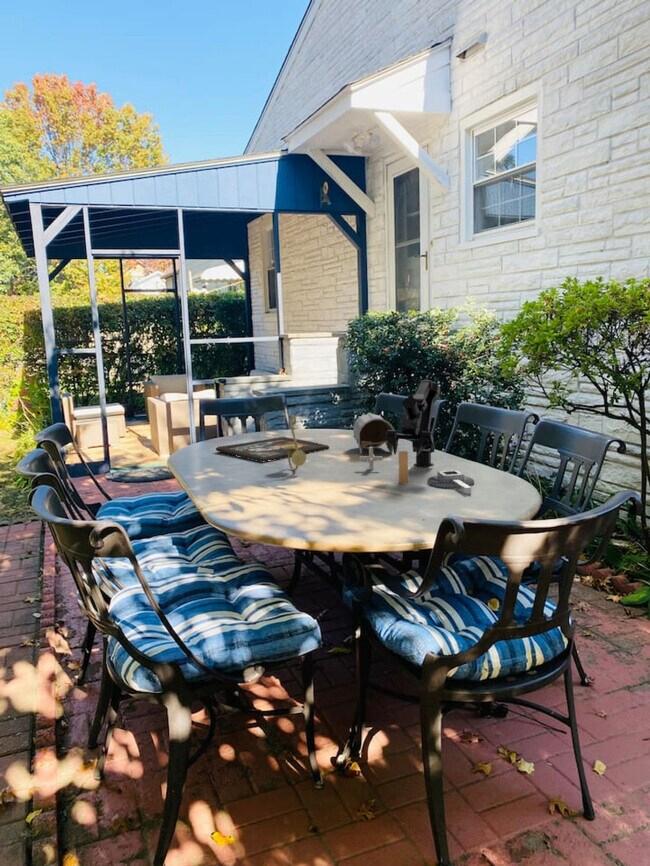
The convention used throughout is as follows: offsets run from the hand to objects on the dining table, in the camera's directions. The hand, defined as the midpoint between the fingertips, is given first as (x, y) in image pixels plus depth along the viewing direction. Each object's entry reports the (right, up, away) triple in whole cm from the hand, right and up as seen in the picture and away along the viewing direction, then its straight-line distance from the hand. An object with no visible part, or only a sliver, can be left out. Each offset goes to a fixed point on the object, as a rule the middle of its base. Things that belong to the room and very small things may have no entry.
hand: (405, 454), depth 258 cm
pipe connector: (-12, -8, +23) cm, 27 cm away
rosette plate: (+18, -12, -8) cm, 23 cm away
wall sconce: (-46, -8, +26) cm, 54 cm away
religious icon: (-59, -1, +73) cm, 94 cm away
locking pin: (-1, -11, -2) cm, 11 cm away
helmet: (-8, -1, +64) cm, 65 cm away
